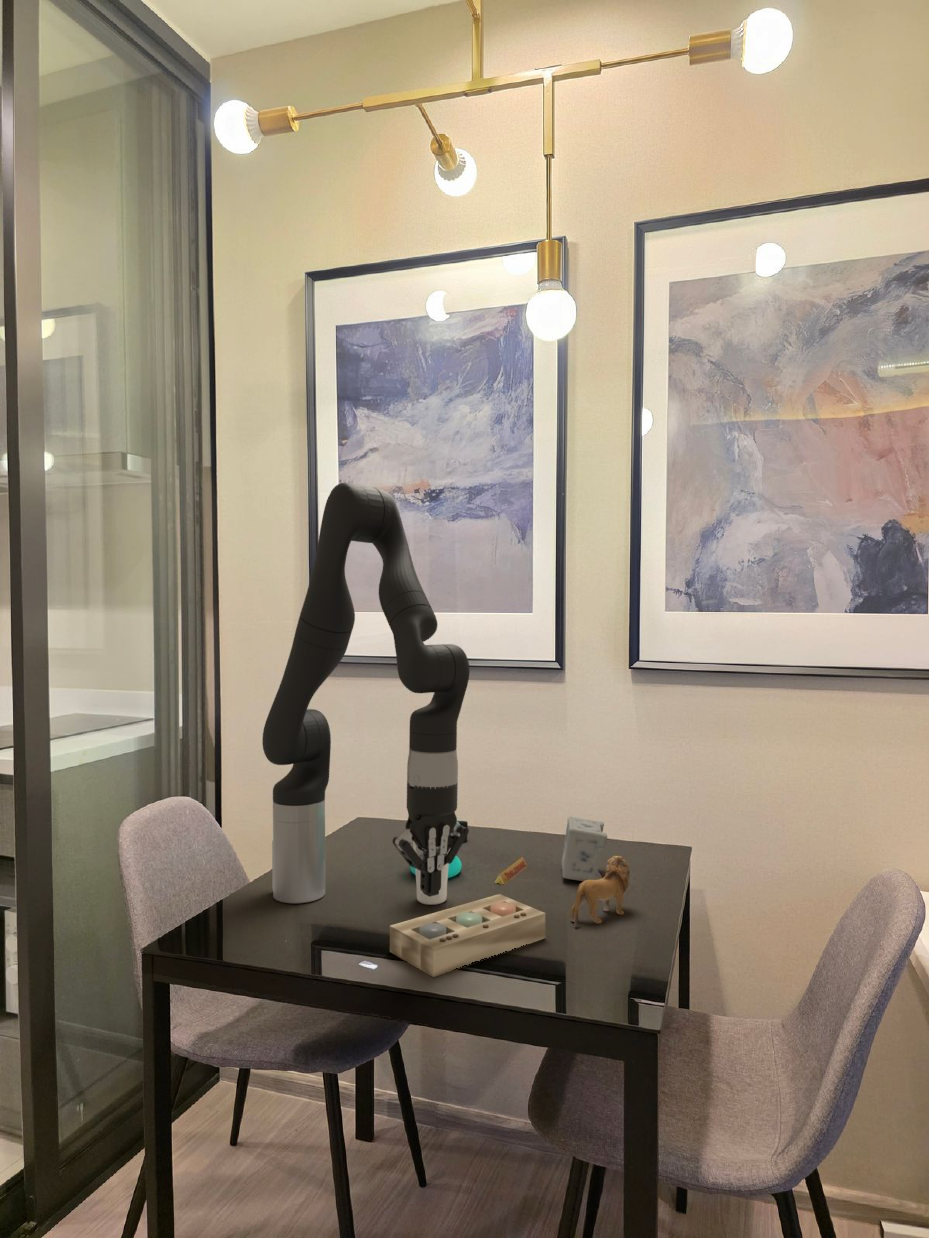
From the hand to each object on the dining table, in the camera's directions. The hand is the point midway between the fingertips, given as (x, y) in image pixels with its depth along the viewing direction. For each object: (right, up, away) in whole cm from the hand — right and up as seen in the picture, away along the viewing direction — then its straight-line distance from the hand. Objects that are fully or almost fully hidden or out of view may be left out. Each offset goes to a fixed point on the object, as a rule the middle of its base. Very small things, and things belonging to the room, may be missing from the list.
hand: (430, 894), depth 127 cm
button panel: (+6, -9, +5) cm, 12 cm away
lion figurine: (+28, -9, +17) cm, 34 cm away
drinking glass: (-1, -9, +24) cm, 25 cm away
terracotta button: (+11, -8, +9) cm, 16 cm away
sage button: (+6, -8, +5) cm, 11 cm away
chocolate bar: (+14, -9, +38) cm, 42 cm away
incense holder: (+28, -9, +37) cm, 47 cm away
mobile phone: (-2, -8, +60) cm, 60 cm away
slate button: (0, -8, 0) cm, 8 cm away
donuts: (0, -9, +39) cm, 40 cm away
